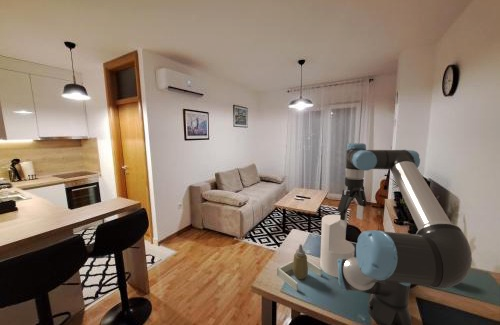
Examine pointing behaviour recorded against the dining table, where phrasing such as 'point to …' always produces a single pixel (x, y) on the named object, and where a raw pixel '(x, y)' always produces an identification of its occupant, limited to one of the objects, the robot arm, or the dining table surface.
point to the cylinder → (334, 245)
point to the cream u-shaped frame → (289, 266)
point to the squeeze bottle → (300, 263)
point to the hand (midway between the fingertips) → (351, 222)
